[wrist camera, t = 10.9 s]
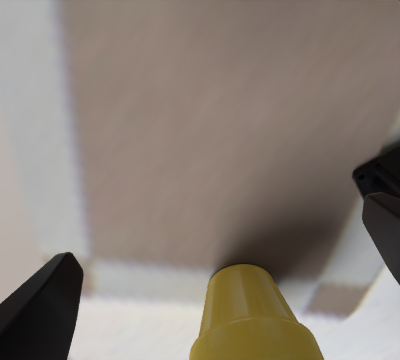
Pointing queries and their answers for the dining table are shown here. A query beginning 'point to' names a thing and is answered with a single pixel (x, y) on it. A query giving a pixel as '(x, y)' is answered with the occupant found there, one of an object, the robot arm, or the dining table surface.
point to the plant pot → (250, 320)
